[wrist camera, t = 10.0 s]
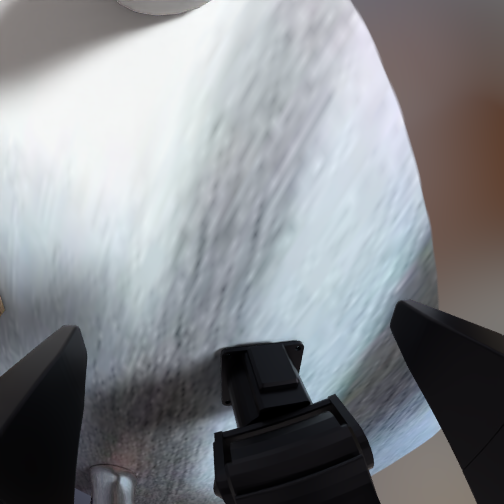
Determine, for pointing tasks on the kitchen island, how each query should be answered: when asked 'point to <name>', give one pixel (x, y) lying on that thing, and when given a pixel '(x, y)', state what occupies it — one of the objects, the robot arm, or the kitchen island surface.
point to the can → (162, 6)
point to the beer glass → (112, 485)
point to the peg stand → (1, 307)
